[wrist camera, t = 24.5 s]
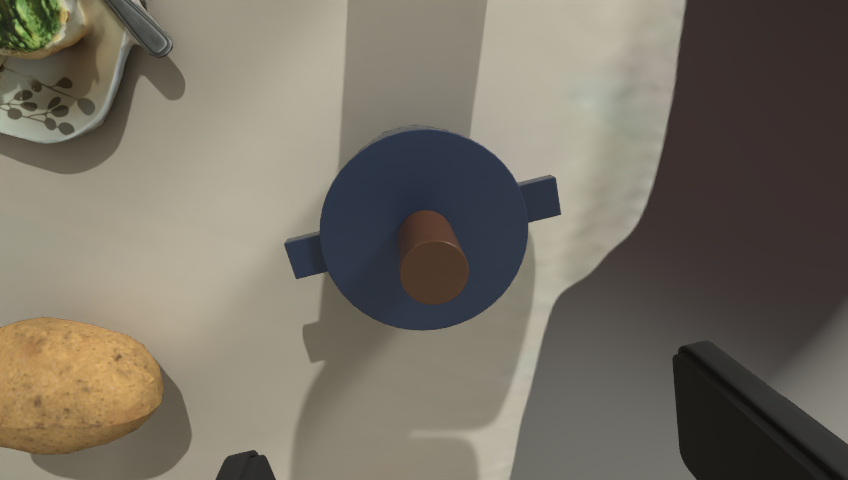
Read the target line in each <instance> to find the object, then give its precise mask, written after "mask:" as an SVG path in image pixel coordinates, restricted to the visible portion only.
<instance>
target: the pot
mask: <svg viewBox="0 0 848 480" xmlns="http://www.w3.org/2000/svg"><path fill="white" fill-rule="evenodd" d="M414 129H434V130H444V131H447V130H445V129H439V128H433V127H428V126H421V125H411V126H406V127H401V128H397V129H394V130H390V131H386V132H384V133H382V134H381V135H379V136H378V137H377V138H375V139H374V140H372V141H371V142H370V143H369V144H367V145H366V146H365V147H367V146H369V145H370V144H372V143H373V142H375V141H377V140H379V139H382V138H384V137H386V136H389V135H392V134H395V133H398V132H403V131H408V130H414ZM448 132H449V131H448ZM365 147H363V148H362V149H364V148H365ZM362 149H361V150H362ZM361 150H360V151H361ZM360 151H359V152H360ZM359 152H358V153H359ZM517 184H518V186H519V188H520V191H521V193H522V196H523V198H524V202H525V206H526V210H527V218H528V223H529V222H533V221H537V220H541V219H545V218H549V217H553V216H557V215H561V211H560V204H559V197H558V190H557V183H556V178H555V177H554V176H552V175H547V176H543V177H539V178H535V179H531V180H527V181H523V182H519V183H517ZM284 245H285V248H286V251H287V254H288V257H289V260H290V263H291V266H292V269H293V272H294V275H295V277H296V279H299V278H303V277H307V276H311V275H315V274H319V273H323V272H327V271H328V270H327V267H326V265H325V262H324V259H323V254H322V250H321V244H320V231H318V232H314V233H310V234H306V235H302V236H298V237H294V238H290V239H287V241H286V242H285V243H284Z"/></svg>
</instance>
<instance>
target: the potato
mask: <svg viewBox="0 0 848 480" xmlns="http://www.w3.org/2000/svg"><path fill="white" fill-rule="evenodd" d="M163 389H164V385H163V381H162V377H161V373H160V369H159V365H158V364H157V363H156V361H155V360H154V359H153V357H152V356H151V355H150V353H149V352H148V350H147V349H146V348H145V346H144V345H142V344H141V343H139V342H138V341H136V340H134V339H133V338H131V337H130V336H127V335H124V334H121V333H117V332H114V331H110V330H107V329H104V328H100V327H97V326H94V325H89V324H84V323H79V322H75V321H70V320H63V319H55V318H48V317H42V318H35V319H29V320H23V321H18V322H15V323H12V324H10V325H7V326H4V327H1V328H0V447H5V448H11V449H16V450H20V451H24V452H29V453H33V454H68V453H72V452H75V451H79V450H82V449H86V448H90V447H94V446H98V445H102V444H106V443H109V442H111V441H114V440H116V439H118V438H120V437H122V436H124V435H126V434H128V433H130V432H132V431H134V430H136V429H137V428H139V427H140V426H141V425H142V424H143V423H144V422H145V421H147V420H148V419H149V418H150V416H151V415H152V414H153V413H154V411H155V410H156V409H157V408H158V406H159V405H160V404H161V400H162V395H163Z"/></svg>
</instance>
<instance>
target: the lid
mask: <svg viewBox="0 0 848 480" xmlns="http://www.w3.org/2000/svg"><path fill="white" fill-rule="evenodd" d="M527 239H528V218H527V210H526V206H525V202H524V198H523V196H522V193H521V191H520V188H519V186H518V184H517V182H516V181H515V179H514V177H513V175H512V174H511V172H510V171H509V170H508V169H507V167H506V166H505V165H504V163H503V162H502V161H501V160H500V159H499V158H497V157H496V156H495V155H494V154H493V153H492V152H491V151H489V150H488V149H487V148H485V147H484V146H482V145H480V144H479V143H477V142H475V141H473V140H471V139H469V138H467V137H464V136H462V135H459V134H456V133H452V132H448V131H444V130H434V129H414V130H408V131H403V132H398V133H395V134H392V135H389V136H386V137H384V138H382V139H379V140H377V141H375V142H373V143H372V144H370V145H369V146H367V147H365V148H364V149H362V150H361V151H360V152H359V153H357V154H356V155H355V156H354V157H353V158H352V159H350V161H349V162H348V163H347V164H346V165H345V166H344V167H343V169H342V170H341V171H340V172H339V174H338V175H337V177H336V178H335V180H334V181H333V183H332V185H331V187H330V189H329V191H328V193H327V196H326V199H325V202H324V205H323V208H322V214H321V219H320V244H321V250H322V254H323V259H324V262H325V265H326V267H327V270H328V272H329V274H330V276H331V278H332V280H333V281H334V283H335V285H336V286H337V287H338V289H339V290H340V291H341V293H342V294H343V295H344V296H345V297H346V298H347V299H348V300H349V301H350V302H351V303H352V304H353V305H354V306H355V307H356V308H358V309H359V310H360V311H362V312H363V313H365V314H366V315H368V316H370V317H371V318H373V319H375V320H377V321H380V322H382V323H384V324H387V325H391V326H394V327H397V328H403V329H409V330H435V329H441V328H446V327H450V326H453V325H457V324H460V323H462V322H464V321H467V320H469V319H471V318H473V317H475V316H476V315H478V314H480V313H481V312H483V311H484V310H486V309H487V308H488V307H490V306H491V305H492V304H493V303H494V302H495V301H496V300H497V299H498V298H499V297H500V296H501V295H502V294H503V293H504V292H505V291H506V289H507V288H508V287H509V286H510V284H511V282H512V281H513V279H514V278H515V276H516V274H517V272H518V270H519V268H520V265H521V263H522V260H523V257H524V254H525V250H526V245H527Z"/></svg>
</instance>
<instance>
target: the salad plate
mask: <svg viewBox="0 0 848 480" xmlns="http://www.w3.org/2000/svg"><path fill="white" fill-rule="evenodd" d="M134 44H138V45H140V46H141V47H142V48H143V49H144V50H145V51H146V52H147V53H148V54H150V55H152V56H154V57H157V58H160V57H164V56H166V55H167V54H168V53H169V52H170V51H171V50H172V47H173V44H172V40H171V38H170V36H169V35H168V33H167V32H166V31H165V30H164V29H163V28H162V27H161V26H160V25H159V24H158V23H157V22H156V21H155V20H154V19H153V18H152V16H151V15H150V14H149V13H148V12H147V11H146V10H145V9H144V7H143V6H142V5H141V2H140V0H0V133H2V134H7V135H9V136H13V137H17V138H22V139H26V140H29V141H32V142H36V143H41V144H43V143H55V142H61V141H72V140H74V139H76V138H78V137H80V136H82V135H84V134H87V133H88V132H90V131H92V130H94V129H96V128H98V127H99V126H101V125H102V124H103V122H104V120H105V119H106V117H107V115H108V113H109V111H110V108H111V105H112V103H113V101H114V98H115V96H116V94H117V91H118V88H119V85H120V82H121V79H122V76H123V71H124V65H125V62H126V59H127V57H128V55H129V52H130V49H131V47H132V46H133V45H134Z"/></svg>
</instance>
